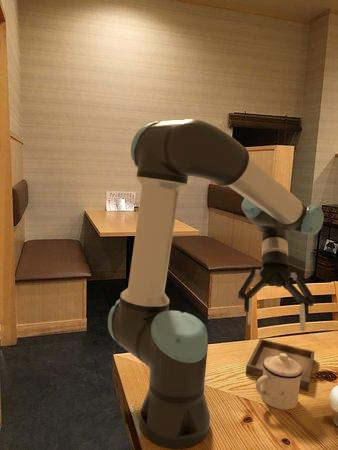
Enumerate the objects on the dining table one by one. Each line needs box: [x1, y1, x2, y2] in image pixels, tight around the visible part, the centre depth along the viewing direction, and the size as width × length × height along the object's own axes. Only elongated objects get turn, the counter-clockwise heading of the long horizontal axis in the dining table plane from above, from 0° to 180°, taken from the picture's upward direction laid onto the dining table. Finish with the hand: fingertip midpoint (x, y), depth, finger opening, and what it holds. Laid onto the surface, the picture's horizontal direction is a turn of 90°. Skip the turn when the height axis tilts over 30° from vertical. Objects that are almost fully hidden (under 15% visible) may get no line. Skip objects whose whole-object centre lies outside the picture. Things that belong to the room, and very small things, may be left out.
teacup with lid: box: [255, 353, 302, 411], centre depth 90 cm, size 12×9×12 cm
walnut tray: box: [245, 338, 316, 392], centre depth 107 cm, size 16×18×2 cm
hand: (276, 326), depth 99 cm, fingers open, 13 cm apart
